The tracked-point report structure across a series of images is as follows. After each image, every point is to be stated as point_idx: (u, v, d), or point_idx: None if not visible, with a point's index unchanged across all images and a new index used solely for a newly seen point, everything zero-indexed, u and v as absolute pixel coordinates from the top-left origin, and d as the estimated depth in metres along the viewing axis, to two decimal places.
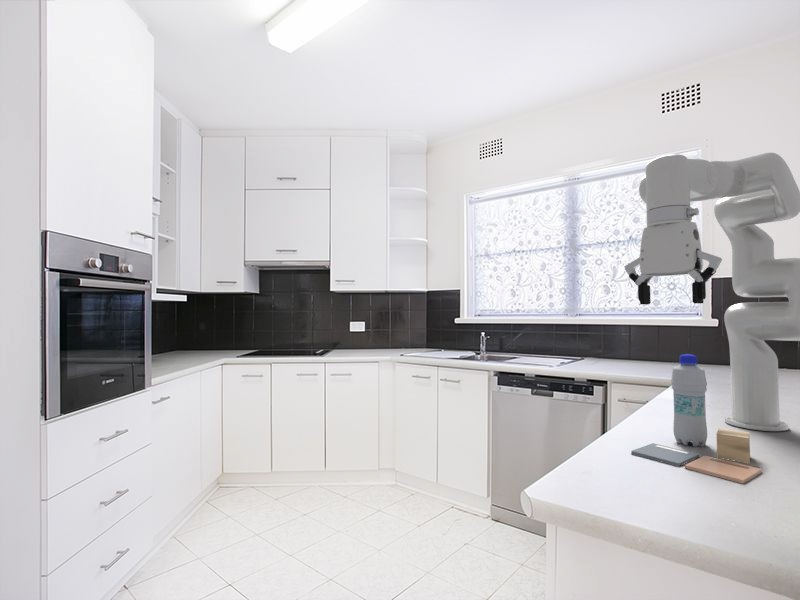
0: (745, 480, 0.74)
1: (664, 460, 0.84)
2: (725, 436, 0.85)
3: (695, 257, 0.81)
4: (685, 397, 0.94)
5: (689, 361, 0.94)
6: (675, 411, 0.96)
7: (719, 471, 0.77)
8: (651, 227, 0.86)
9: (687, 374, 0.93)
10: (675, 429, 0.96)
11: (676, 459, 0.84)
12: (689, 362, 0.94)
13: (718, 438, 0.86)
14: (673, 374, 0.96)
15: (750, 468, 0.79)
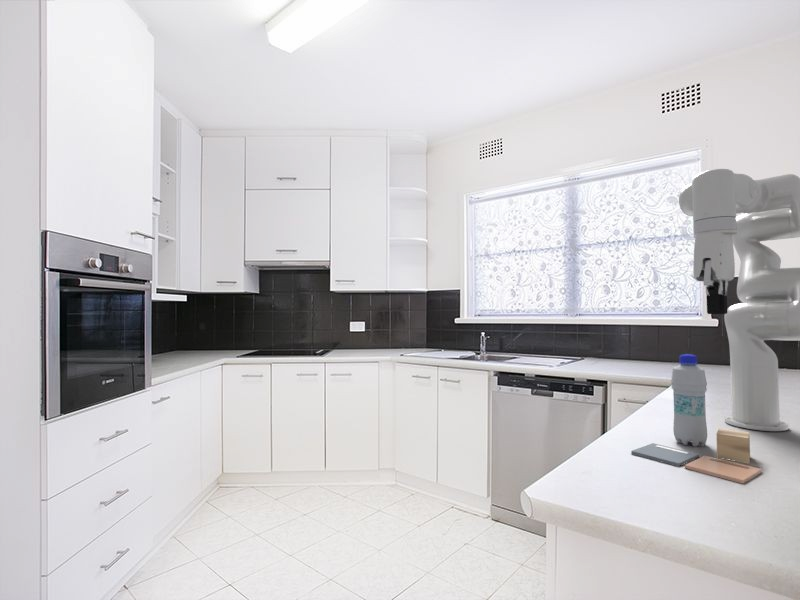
0: (745, 480, 0.74)
1: (664, 460, 0.84)
2: (725, 436, 0.85)
3: None
4: (685, 397, 0.94)
5: (689, 361, 0.94)
6: (675, 411, 0.96)
7: (719, 471, 0.77)
8: (724, 233, 0.89)
9: (687, 374, 0.93)
10: (675, 429, 0.96)
11: (676, 459, 0.84)
12: (689, 362, 0.94)
13: (718, 438, 0.86)
14: (673, 374, 0.96)
15: (750, 468, 0.79)
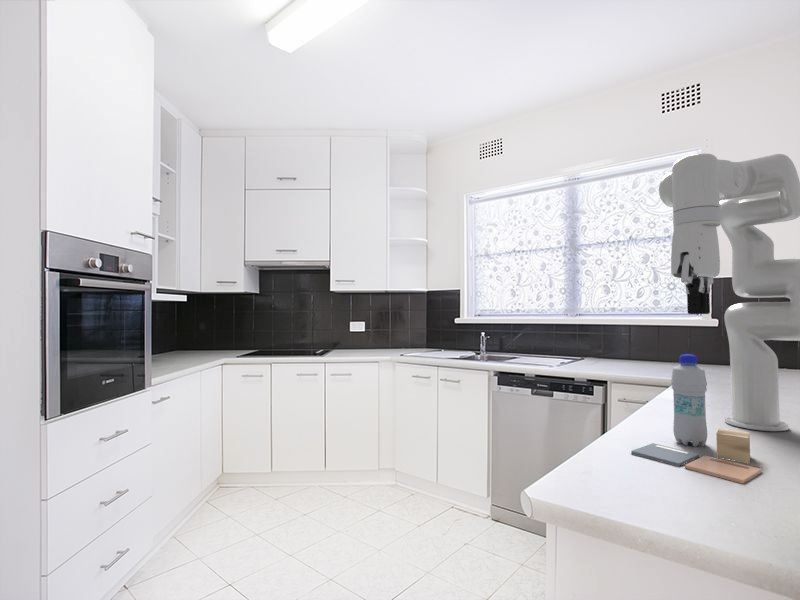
0: (745, 480, 0.74)
1: (664, 460, 0.84)
2: (725, 436, 0.85)
3: None
4: (685, 397, 0.94)
5: (689, 361, 0.94)
6: (675, 411, 0.96)
7: (719, 471, 0.77)
8: (704, 225, 0.80)
9: (687, 374, 0.93)
10: (675, 429, 0.96)
11: (676, 459, 0.84)
12: (689, 362, 0.94)
13: (718, 438, 0.86)
14: (673, 374, 0.96)
15: (750, 468, 0.79)
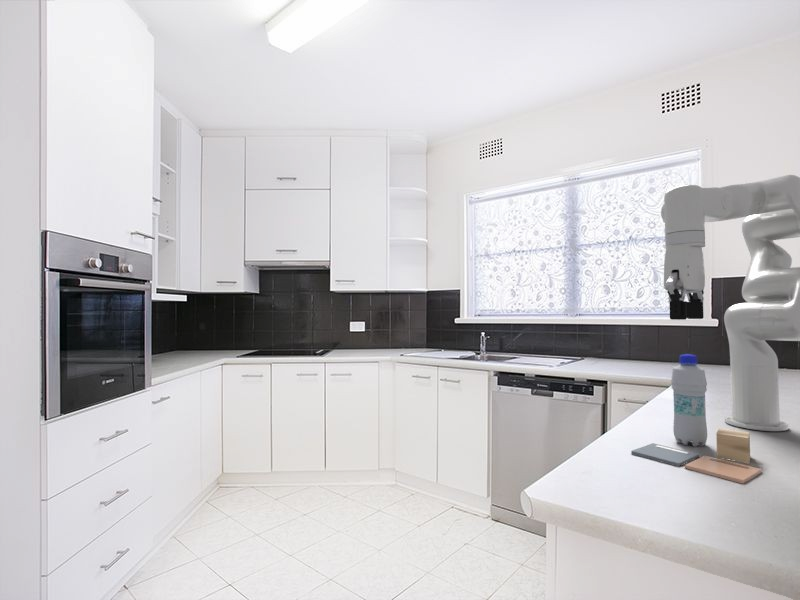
0: (745, 480, 0.74)
1: (664, 460, 0.84)
2: (725, 436, 0.85)
3: None
4: (685, 397, 0.94)
5: (689, 361, 0.94)
6: (675, 411, 0.96)
7: (719, 471, 0.77)
8: (692, 246, 0.93)
9: (687, 374, 0.93)
10: (675, 429, 0.96)
11: (676, 459, 0.84)
12: (689, 362, 0.94)
13: (718, 438, 0.86)
14: (673, 374, 0.96)
15: (750, 468, 0.79)
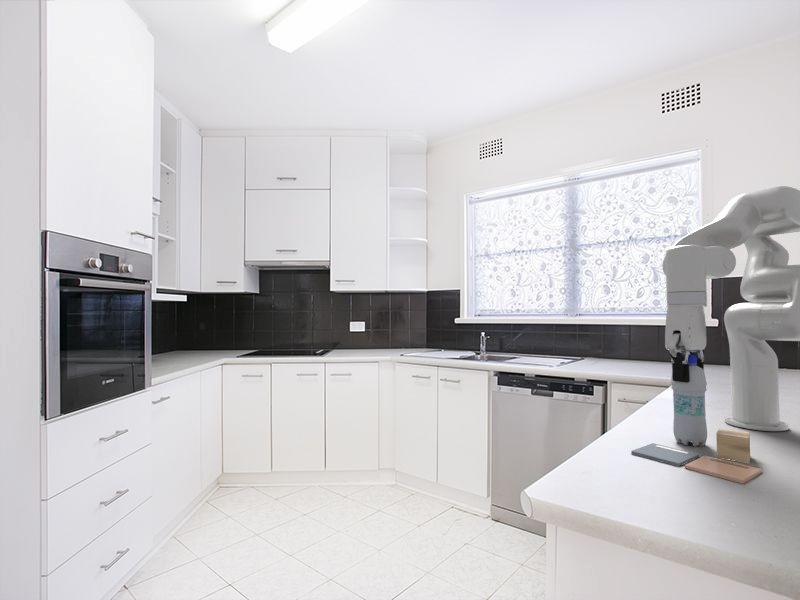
0: (745, 480, 0.74)
1: (664, 460, 0.84)
2: (725, 436, 0.85)
3: None
4: (684, 397, 0.94)
5: (689, 361, 0.94)
6: (675, 411, 0.96)
7: (719, 471, 0.77)
8: (694, 307, 0.93)
9: None
10: (675, 429, 0.96)
11: (676, 459, 0.84)
12: (689, 362, 0.94)
13: (718, 438, 0.86)
14: None
15: (750, 468, 0.79)
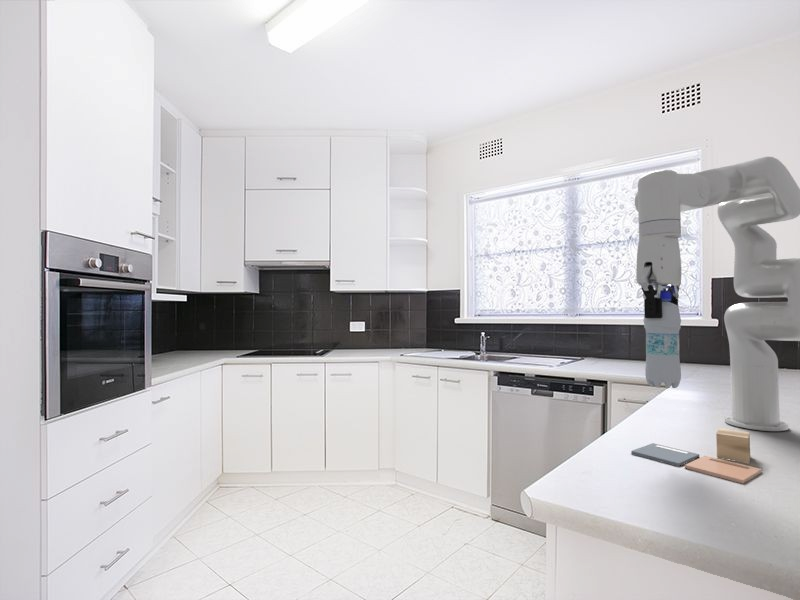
0: (745, 480, 0.74)
1: (664, 460, 0.84)
2: (725, 436, 0.85)
3: None
4: (657, 335, 0.87)
5: (662, 297, 0.87)
6: (647, 351, 0.89)
7: (719, 471, 0.77)
8: (666, 236, 0.86)
9: None
10: (647, 371, 0.88)
11: (676, 459, 0.84)
12: (662, 298, 0.87)
13: (718, 438, 0.86)
14: None
15: (750, 468, 0.79)
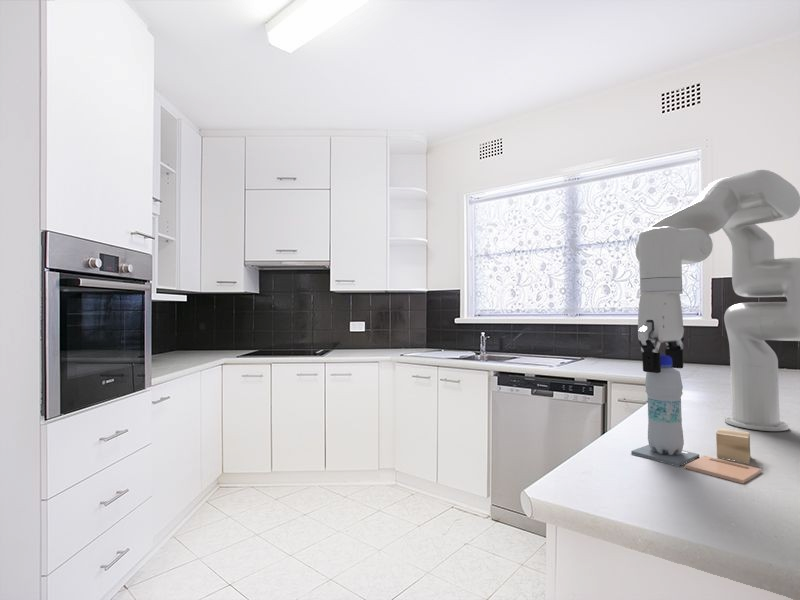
0: (745, 480, 0.74)
1: (664, 460, 0.84)
2: (725, 436, 0.85)
3: None
4: (659, 402, 0.86)
5: (663, 363, 0.87)
6: (649, 417, 0.88)
7: (719, 471, 0.77)
8: (668, 294, 0.85)
9: (661, 376, 0.86)
10: (649, 436, 0.88)
11: (676, 459, 0.84)
12: (663, 364, 0.87)
13: (718, 438, 0.86)
14: (647, 377, 0.89)
15: (750, 468, 0.79)
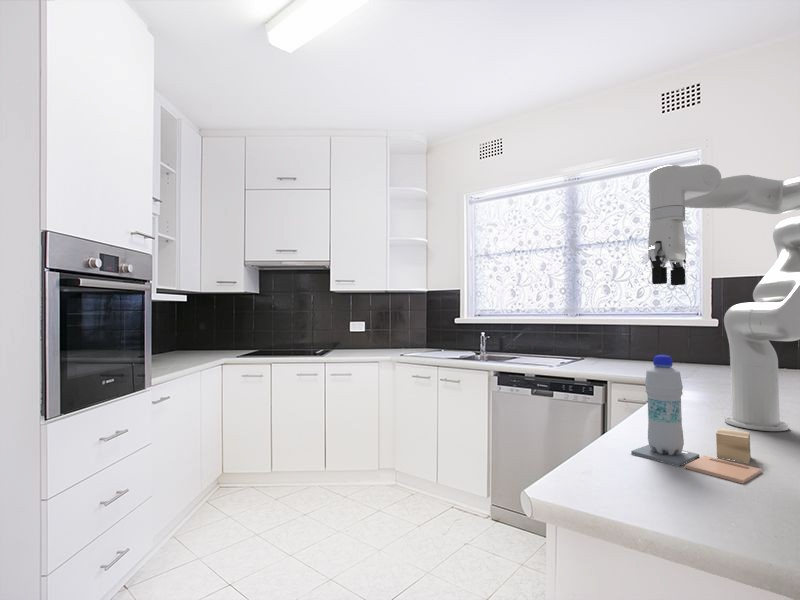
0: (745, 480, 0.74)
1: (664, 460, 0.84)
2: (725, 436, 0.85)
3: None
4: (659, 402, 0.86)
5: (663, 363, 0.87)
6: (649, 417, 0.88)
7: (719, 471, 0.77)
8: (673, 220, 1.04)
9: (661, 376, 0.86)
10: (649, 436, 0.88)
11: (676, 459, 0.84)
12: (663, 364, 0.87)
13: (718, 438, 0.86)
14: (647, 377, 0.89)
15: (750, 468, 0.79)
